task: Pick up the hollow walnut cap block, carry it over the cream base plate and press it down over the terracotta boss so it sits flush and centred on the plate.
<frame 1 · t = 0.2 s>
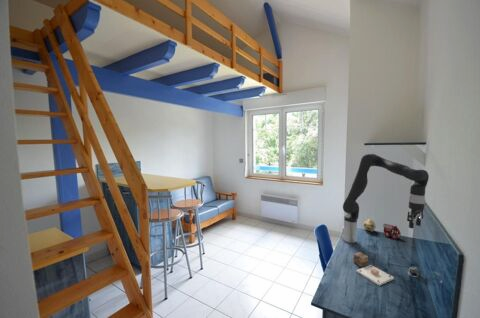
hand: (414, 226, 132), 29 cm above the table, fingers open, 8 cm apart
base plate: (374, 275, 129), on the table
toy fire truck: (391, 237, 183), on the table
beige lumpy ball: (368, 231, 195), on the table
walnut cap block: (360, 263, 142), on the table
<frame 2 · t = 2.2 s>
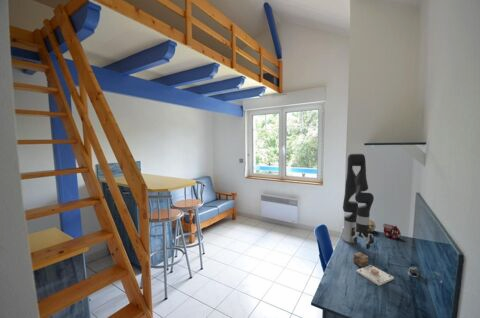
hand: (361, 245, 140), 12 cm above the table, fingers open, 8 cm apart
nothing on the table moved.
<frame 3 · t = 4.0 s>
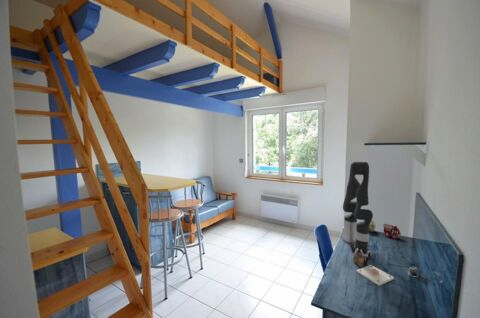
hand: (360, 262, 142), 1 cm above the table, fingers closed on walnut cap block, 6 cm apart
walnut cap block: (360, 263, 142), on the table, touching gripper
everything else where it was.
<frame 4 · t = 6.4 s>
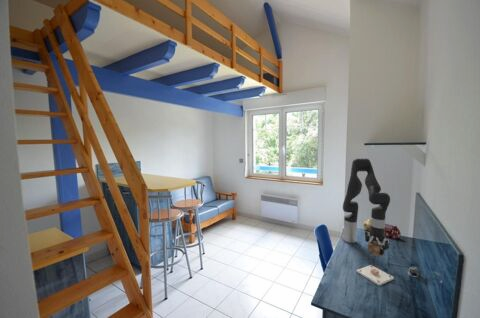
hand: (375, 252, 128), 15 cm above the table, fingers closed on walnut cap block, 6 cm apart
walnut cap block: (375, 253, 128), point 14 cm above the table, touching gripper
everything else where it was.
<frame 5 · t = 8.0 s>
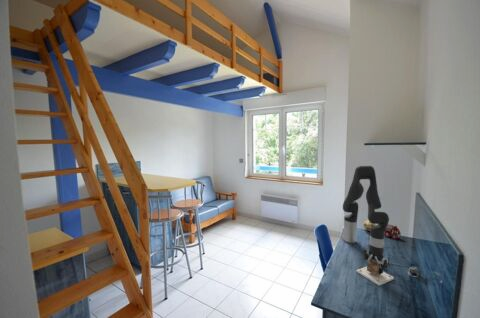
hand: (374, 270, 129), 3 cm above the table, fingers closed on walnut cap block, 6 cm apart
walnut cap block: (374, 271, 129), point 2 cm above the table, touching gripper
everything else where it was.
when the fingers open (3 cm above the table, at t = 9.0 s): walnut cap block stays where it is, resting on base plate.
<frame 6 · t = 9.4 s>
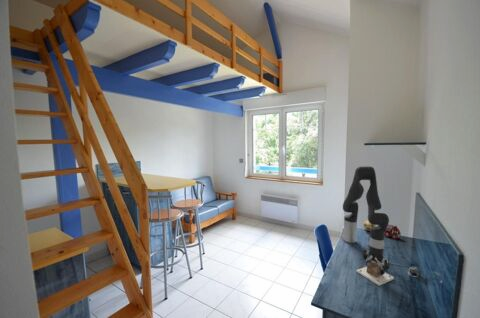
hand: (374, 270, 129), 3 cm above the table, fingers open, 8 cm apart
walnut cap block: (374, 273, 129), point 1 cm above the table, touching base plate
everything else where it was.
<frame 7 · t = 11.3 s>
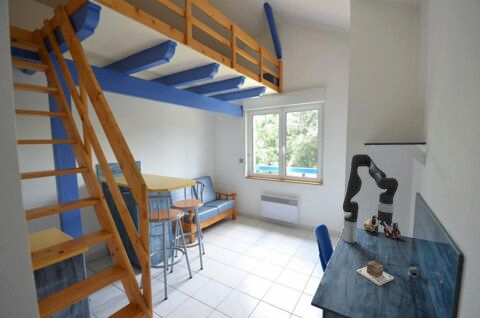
hand: (383, 235, 130), 24 cm above the table, fingers open, 8 cm apart
nothing on the table moved.
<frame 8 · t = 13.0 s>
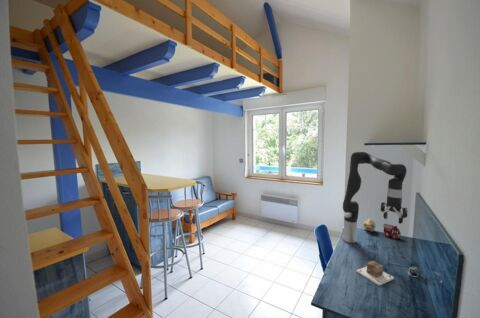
hand: (392, 221, 133), 32 cm above the table, fingers open, 8 cm apart
nothing on the table moved.
at the end: walnut cap block 0.1 cm off-centre on the base plate, point 1.2 cm above the base plate's base; walnut cap block tilted 0°; the gripper is holding nothing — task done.
